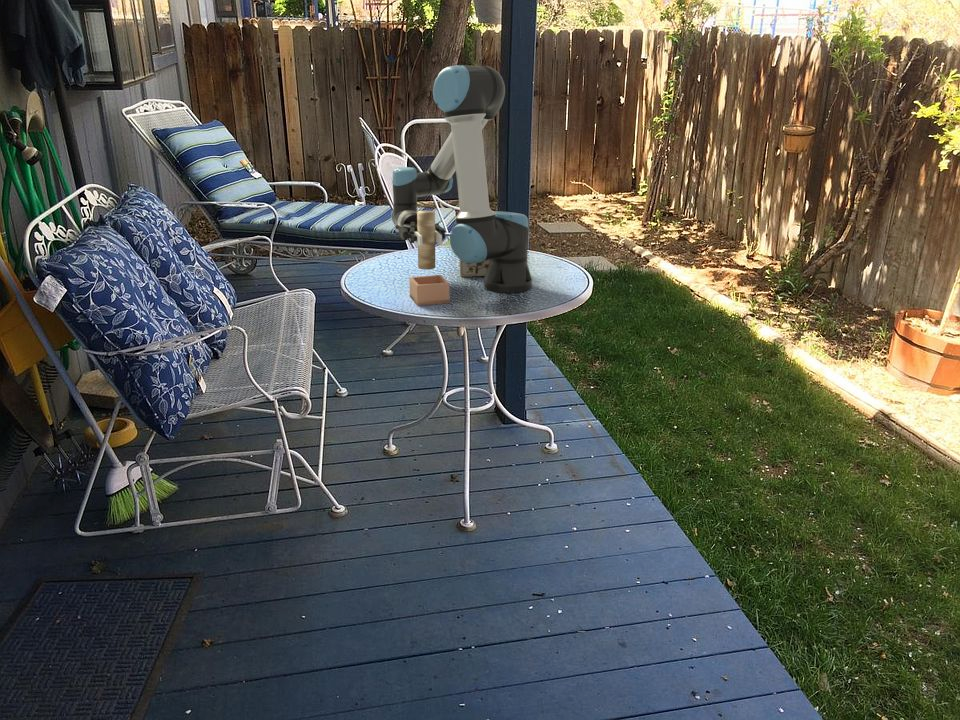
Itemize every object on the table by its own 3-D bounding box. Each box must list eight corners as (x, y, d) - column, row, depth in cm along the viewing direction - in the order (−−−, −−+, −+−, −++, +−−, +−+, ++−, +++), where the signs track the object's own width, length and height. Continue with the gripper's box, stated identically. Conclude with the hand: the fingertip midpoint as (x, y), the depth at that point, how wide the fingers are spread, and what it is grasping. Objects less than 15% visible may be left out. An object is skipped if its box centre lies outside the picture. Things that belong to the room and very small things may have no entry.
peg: (433, 264, 220) (432, 210, 214) (437, 268, 215) (436, 213, 210) (416, 265, 218) (415, 210, 213) (420, 270, 214) (419, 214, 208)
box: (441, 294, 226) (440, 274, 223) (449, 303, 217) (449, 283, 215) (409, 296, 223) (409, 277, 221) (417, 305, 214) (416, 285, 212)
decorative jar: (495, 268, 255) (495, 215, 248) (495, 277, 244) (495, 222, 238) (460, 268, 255) (460, 215, 249) (458, 277, 244) (458, 222, 238)
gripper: (440, 234, 233) (461, 251, 213) (383, 238, 228) (399, 255, 208) (440, 210, 231) (461, 225, 210) (382, 213, 226) (398, 228, 205)
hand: (430, 240), depth 209 cm, fingers closed on peg, 5 cm apart
